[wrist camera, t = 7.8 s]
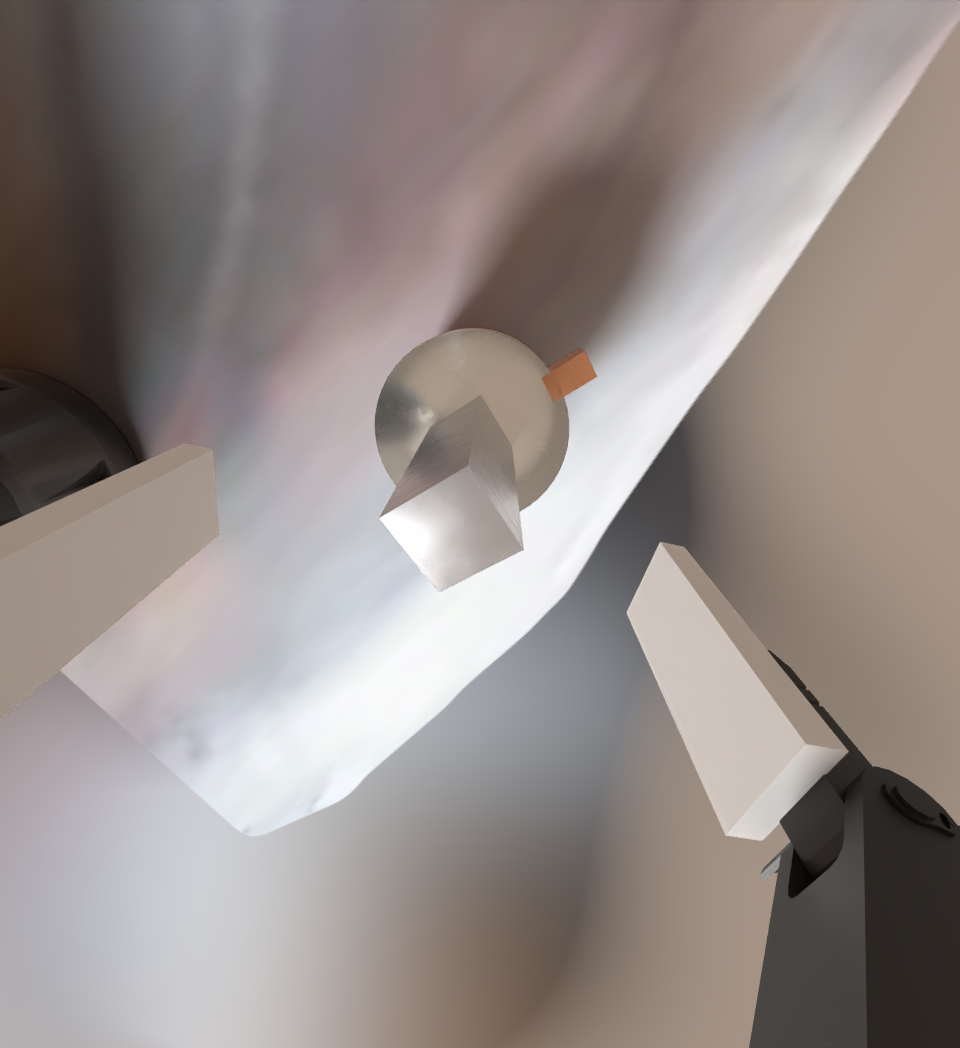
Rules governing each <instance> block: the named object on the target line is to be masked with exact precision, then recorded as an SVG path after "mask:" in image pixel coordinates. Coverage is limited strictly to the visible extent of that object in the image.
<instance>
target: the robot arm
mask: <svg viewBox="0 0 960 1048" xmlns="http://www.w3.org/2000/svg"><path fill="white" fill-rule="evenodd" d="M218 535H219V529H218V516H217V502H216V489H215V475H214V462H213V449H208V448H203V447H199V446H194V445H189V444H182V445H179V446H177V447H175V448H173V449H171V450H168V451H166V452H164V453H162V454H160V455H157V456H155V457H153V458H151V459H149V460H146V461H144V462H142V463H140V464H137V462H136V459H135V457H134V455H133V453H132V451H131V449H130V447H129V445H128V444H127V442H126V440H125V439H124V438H123V436H122V435H121V433H120V432H119V431H118V429H117V428H116V427H115V426H114V424H113V423H112V422H111V421H110V420H109V419H108V418H107V417H106V416H105V415H104V414H103V413H102V412H101V411H100V410H99V409H98V408H97V407H96V406H95V405H93V404H92V403H91V402H90V401H88V400H87V399H86V398H85V397H83V396H82V395H80V394H79V393H77V392H76V391H74V390H73V389H71V388H69V387H68V386H66V385H64V384H62V383H60V382H58V381H56V380H54V379H52V378H49V377H47V376H44V375H41V374H38V373H35V372H31V371H27V370H22V369H14V368H0V720H1V719H2V718H3V717H5V716H6V715H7V714H8V713H9V712H10V711H12V710H13V709H14V708H15V707H16V706H18V705H19V704H20V703H21V702H22V701H23V700H25V699H26V698H27V697H28V696H29V695H30V694H32V693H33V692H34V691H35V690H36V689H38V688H39V687H40V686H41V685H42V684H43V683H45V682H46V681H47V680H48V679H49V678H51V677H52V676H53V675H54V674H55V673H56V672H58V671H59V670H60V669H61V668H62V667H64V666H65V665H66V664H67V663H68V662H69V661H71V660H72V659H73V658H74V657H75V656H76V655H78V654H79V653H80V652H81V651H82V650H84V649H85V648H86V647H87V646H88V645H89V644H91V643H92V642H93V641H94V640H95V639H97V638H98V637H99V636H100V635H101V634H102V633H104V632H105V631H106V630H107V629H108V628H109V627H111V626H112V625H113V624H114V623H115V622H117V621H118V620H119V619H120V618H121V617H122V616H124V615H125V614H126V613H127V612H128V611H130V610H131V609H132V608H133V607H134V606H135V605H137V604H138V603H139V602H140V601H141V600H143V599H144V598H145V597H146V596H147V595H148V594H150V593H151V592H152V591H153V590H154V589H155V588H157V587H158V586H159V585H160V584H161V583H163V582H164V581H165V580H166V579H167V578H168V577H170V576H171V575H172V574H173V573H174V572H176V571H177V570H178V569H179V568H180V567H181V566H183V565H184V564H185V563H186V562H187V561H189V560H190V559H191V558H192V557H193V556H194V555H196V554H197V553H198V552H199V551H200V550H201V549H203V548H204V547H205V546H206V545H207V544H209V543H210V542H211V541H212V540H213V539H214V538H216V537H217V536H218ZM627 615H628V617H629V620H630V622H631V624H632V626H633V628H634V631H635V633H636V635H637V638H638V640H639V642H640V644H641V646H642V649H643V651H644V653H645V655H646V658H647V660H648V662H649V664H650V667H651V669H652V671H653V673H654V676H655V678H656V680H657V682H658V685H659V687H660V689H661V691H662V693H663V696H664V698H665V700H666V703H667V705H668V707H669V709H670V711H671V714H672V716H673V718H674V721H675V723H676V725H677V727H678V730H679V732H680V734H681V736H682V738H683V741H684V743H685V745H686V747H687V750H688V752H689V754H690V756H691V759H692V761H693V763H694V765H695V768H696V770H697V772H698V774H699V777H700V779H701V781H702V783H703V785H704V788H705V790H706V792H707V795H708V797H709V799H710V801H711V804H712V805H713V808H714V810H715V813H716V814H717V817H718V819H719V822H720V824H721V826H722V828H723V830H724V833H725V835H727V836H734V837H741V838H747V839H754V840H761V841H763V840H764V838H766V837H767V836H768V835H769V833H770V832H771V831H772V830H773V829H774V828H775V827H776V826H777V825H778V824H779V823H781V825H782V827H783V829H784V830H785V832H786V834H787V836H788V837H789V839H790V841H791V842H790V843H789V844H788V845H787V846H786V847H785V848H784V849H783V850H782V851H781V852H780V853H779V854H778V855H777V856H776V857H774V858H773V859H772V860H771V861H770V862H769V863H768V864H767V865H766V866H765V867H764V869H763V871H762V872H761V874H760V876H762V877H763V878H764V879H766V880H767V879H768V878H769V877H770V876H771V875H772V874H773V873H777V872H778V876H777V882H776V887H775V894H774V900H773V906H772V912H771V918H770V924H769V931H768V936H767V942H766V949H765V955H764V961H763V967H762V973H761V979H760V985H759V991H758V997H757V1003H756V1009H755V1016H754V1022H753V1028H752V1034H751V1040H750V1046H749V1048H960V826H958V825H957V824H956V823H955V822H954V820H953V819H952V818H951V817H950V816H949V814H948V813H947V812H946V811H945V809H944V808H943V807H942V806H940V805H939V804H938V803H937V802H936V801H935V800H934V799H933V798H932V797H931V796H929V795H928V794H927V793H926V792H925V791H924V790H922V789H921V788H919V787H918V786H916V785H915V784H914V783H912V782H911V781H909V780H908V779H906V778H904V777H902V776H900V775H898V774H896V773H894V772H892V771H890V770H887V769H883V768H880V767H873V766H872V765H871V764H870V763H869V762H868V761H867V759H866V758H865V757H864V756H863V754H862V753H861V752H860V751H859V750H858V748H857V747H856V746H855V745H854V744H853V742H852V741H851V740H850V739H849V738H848V736H847V735H846V734H845V733H844V732H843V730H842V729H841V728H840V727H839V726H838V724H837V723H836V722H835V721H834V720H833V718H832V717H831V716H830V715H829V713H828V712H827V711H826V710H825V709H824V708H823V707H822V706H819V701H818V700H817V699H816V698H815V697H814V695H813V694H812V693H811V692H810V691H809V690H806V686H805V685H804V683H803V682H802V681H801V680H800V679H799V678H798V676H797V675H796V674H795V673H794V671H793V670H792V669H791V668H790V667H789V666H788V665H787V664H785V663H784V662H783V661H782V660H780V659H779V658H778V657H777V656H776V655H774V654H773V653H772V652H771V651H770V650H767V649H766V648H765V647H764V646H763V644H762V643H761V642H760V641H759V639H758V638H757V637H756V636H755V634H754V633H753V632H752V631H751V630H750V628H749V627H748V626H747V625H746V623H745V622H744V621H743V620H742V618H741V617H740V616H739V615H738V614H737V612H736V611H735V610H734V608H733V607H732V606H731V605H730V603H729V602H728V601H727V600H726V599H725V597H724V596H723V595H722V593H721V592H720V591H719V590H718V589H717V587H716V586H715V585H714V584H713V582H712V581H711V580H710V579H709V577H708V576H707V575H706V574H705V572H704V571H703V570H702V569H701V567H700V566H699V565H698V564H697V562H696V561H695V560H694V559H693V558H692V556H691V555H690V554H689V553H688V551H687V550H686V549H685V548H684V547H682V546H676V545H672V544H667V543H663V542H660V543H659V545H658V548H657V550H656V552H655V554H654V556H653V558H652V560H651V563H650V564H649V566H648V569H647V571H646V573H645V575H644V577H643V579H642V581H641V583H640V586H639V588H638V590H637V592H636V594H635V596H634V598H633V600H632V602H631V604H630V606H629V608H628V611H627Z"/></svg>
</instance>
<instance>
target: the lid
mask: <svg viewBox="0 0 960 1048" xmlns="http://www.w3.org/2000/svg"><path fill="white" fill-rule="evenodd" d="M596 377H597V375H596V373H595V371H594V369H593V367H592V365H591V363H590V361H589V359H588V357H587V355H586V352H585V351H584V350H582V349H580V348H577V349H576V350H574V351H573V352H571V353H569V354H568V355H566V356H565V357H563V358H562V359H560V360H558V361H557V362H555V363H554V364H552V365H550V366H549V367H546V365H545V364H544V363H543V362H542V361H541V359H540V358H539V357H538V356H537V355H536V354H535V353H534V352H533V351H532V350H531V349H530V348H529V347H527V346H526V345H524V344H523V343H521V342H520V341H519V340H517V339H515V338H513V337H511V336H509V335H507V334H504V333H501V332H498V331H495V330H489V329H484V328H465V329H457V330H453V331H449V332H446V333H443V334H441V335H438V336H436V337H434V338H432V339H430V340H427V341H426V342H424V343H422V344H421V345H419V346H417V347H416V348H414V349H413V350H412V351H411V352H409V353H408V354H407V355H406V356H404V357H403V359H402V360H401V361H400V362H399V363H398V364H397V365H396V366H395V368H394V369H393V370H392V372H391V373H390V375H389V376H388V378H387V380H386V382H385V384H384V386H383V388H382V390H381V393H380V396H379V399H378V403H377V409H376V414H375V434H376V442H377V447H378V451H379V454H380V457H381V460H382V463H383V465H384V467H385V469H386V471H387V473H388V474H389V476H390V477H391V479H392V480H393V482H394V483H395V485H396V486H397V487H396V489H395V491H394V493H393V494H392V496H391V498H390V500H389V502H388V503H387V505H386V507H385V509H384V511H383V512H382V514H381V516H380V519H381V521H382V522H383V523H384V524H385V526H386V527H387V528H388V529H389V531H390V532H391V533H392V534H393V536H394V537H395V538H396V539H397V541H398V542H399V543H400V544H401V546H402V547H403V548H404V549H405V551H406V552H407V553H408V554H409V556H410V557H411V558H412V559H413V561H414V562H415V563H416V564H417V566H418V567H419V568H420V569H421V571H422V572H423V573H424V574H425V576H426V577H427V578H428V579H429V581H430V582H431V583H432V584H433V586H434V587H435V588H436V589H437V591H438V592H441V591H443V590H445V589H447V588H449V587H451V586H453V585H455V584H457V583H459V582H461V581H463V580H465V579H467V578H469V577H471V576H472V575H474V574H476V573H478V572H480V571H482V570H484V569H486V568H488V567H490V566H492V565H494V564H496V563H498V562H500V561H502V560H504V559H506V558H508V557H510V556H512V555H514V554H516V553H518V552H520V551H522V550H524V549H523V540H522V531H521V522H520V513H519V512H520V511H521V510H523V509H525V508H526V507H528V506H530V505H531V504H532V503H533V502H535V501H536V500H537V499H538V498H539V497H540V496H541V495H542V494H543V493H544V492H545V491H546V490H547V489H548V487H549V486H550V485H551V483H552V482H553V481H554V479H555V477H556V476H557V474H558V472H559V470H560V468H561V466H562V463H563V461H564V458H565V454H566V451H567V447H568V439H569V418H568V411H567V406H566V403H565V399H564V396H566V395H567V394H569V393H571V392H572V391H574V390H576V389H577V388H579V387H581V386H582V385H584V384H586V383H587V382H589V381H591V380H592V379H594V378H596Z"/></svg>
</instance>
